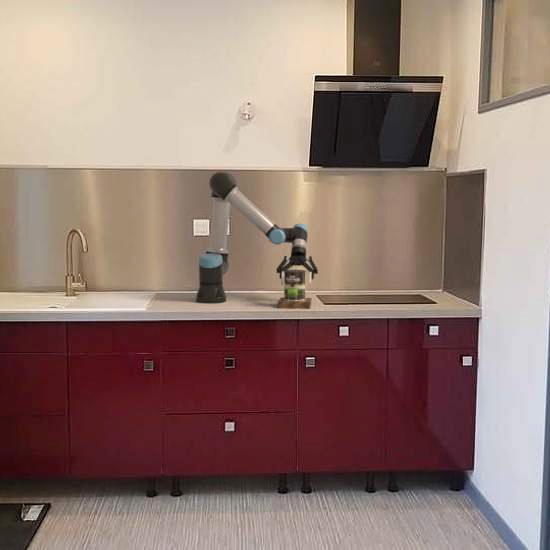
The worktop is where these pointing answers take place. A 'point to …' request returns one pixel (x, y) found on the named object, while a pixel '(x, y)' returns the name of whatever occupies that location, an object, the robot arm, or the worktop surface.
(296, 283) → the coffee can
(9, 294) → the worktop surface
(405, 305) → the worktop surface
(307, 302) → the walnut board
